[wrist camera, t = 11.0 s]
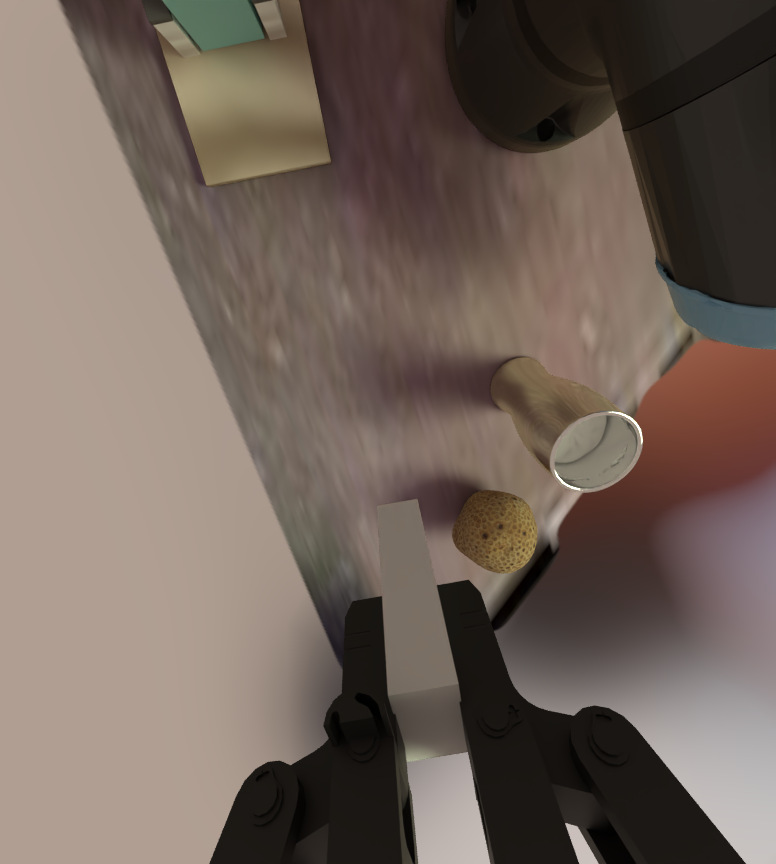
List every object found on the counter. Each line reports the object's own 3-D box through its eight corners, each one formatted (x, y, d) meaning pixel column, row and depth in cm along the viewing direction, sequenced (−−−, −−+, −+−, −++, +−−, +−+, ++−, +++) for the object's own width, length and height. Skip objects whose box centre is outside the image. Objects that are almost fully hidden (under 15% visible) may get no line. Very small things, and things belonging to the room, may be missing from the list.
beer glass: (500, 426, 43) (565, 510, 29) (475, 374, 40) (533, 439, 26) (560, 395, 41) (656, 467, 28) (538, 339, 39) (632, 389, 25)
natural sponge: (533, 483, 46) (575, 541, 37) (497, 538, 50) (527, 603, 41) (467, 460, 44) (494, 515, 35) (434, 519, 48) (451, 582, 39)
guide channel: (331, 163, 31) (325, 146, 26) (210, 187, 31) (180, 175, 26) (271, -141, 24) (245, -249, 19) (116, -107, 24) (48, -206, 19)
